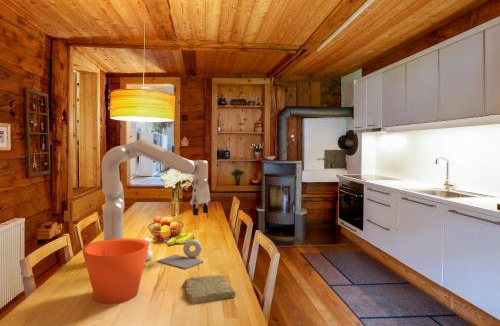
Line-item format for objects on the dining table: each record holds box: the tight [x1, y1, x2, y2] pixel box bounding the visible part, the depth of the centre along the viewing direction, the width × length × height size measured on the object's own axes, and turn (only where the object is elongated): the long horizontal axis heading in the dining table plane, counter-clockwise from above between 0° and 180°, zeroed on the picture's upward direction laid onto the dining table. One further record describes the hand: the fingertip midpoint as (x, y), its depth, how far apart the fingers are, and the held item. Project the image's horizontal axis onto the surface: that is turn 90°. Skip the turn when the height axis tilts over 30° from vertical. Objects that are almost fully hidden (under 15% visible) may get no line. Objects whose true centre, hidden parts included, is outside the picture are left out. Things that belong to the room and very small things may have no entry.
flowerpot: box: [81, 237, 150, 305], centre depth 141 cm, size 25×25×20 cm
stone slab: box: [182, 274, 236, 305], centre depth 147 cm, size 19×20×4 cm
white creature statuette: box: [142, 236, 154, 262], centre depth 187 cm, size 10×9×12 cm
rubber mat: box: [157, 254, 204, 270], centre depth 184 cm, size 13×20×1 cm, turn 57°
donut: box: [182, 238, 203, 259], centre depth 191 cm, size 10×4×10 cm, turn 101°
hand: (200, 213), depth 196 cm, fingers open, 7 cm apart
